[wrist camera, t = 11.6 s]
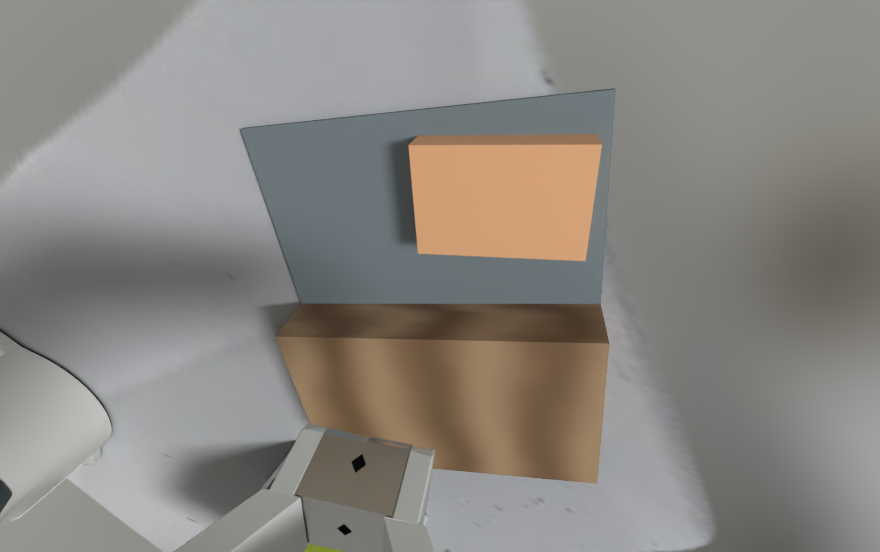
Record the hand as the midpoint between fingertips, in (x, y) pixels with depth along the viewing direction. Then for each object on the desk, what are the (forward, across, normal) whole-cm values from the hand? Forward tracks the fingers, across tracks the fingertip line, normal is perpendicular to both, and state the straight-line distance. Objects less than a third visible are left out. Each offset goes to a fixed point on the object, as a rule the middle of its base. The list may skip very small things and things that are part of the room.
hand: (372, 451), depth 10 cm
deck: (+17, -1, +14) cm, 22 cm away
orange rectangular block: (+15, -2, 0) cm, 15 cm away
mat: (+17, +2, +2) cm, 17 cm away
